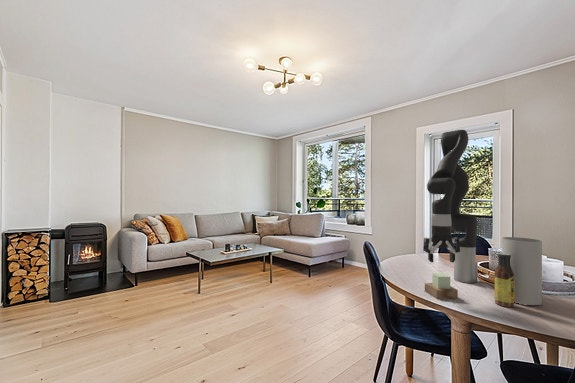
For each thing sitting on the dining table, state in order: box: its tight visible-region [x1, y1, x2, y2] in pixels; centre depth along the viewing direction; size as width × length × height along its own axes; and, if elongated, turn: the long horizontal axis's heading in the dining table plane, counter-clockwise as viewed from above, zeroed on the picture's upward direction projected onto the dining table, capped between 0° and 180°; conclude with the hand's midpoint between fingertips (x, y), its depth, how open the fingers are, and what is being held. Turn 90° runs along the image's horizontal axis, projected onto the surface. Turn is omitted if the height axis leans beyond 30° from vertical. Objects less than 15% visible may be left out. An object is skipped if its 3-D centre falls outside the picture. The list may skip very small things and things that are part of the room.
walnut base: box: [424, 282, 459, 300], centre depth 120 cm, size 9×9×4 cm
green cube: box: [431, 272, 451, 289], centre depth 120 cm, size 5×5×5 cm
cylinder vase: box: [501, 236, 543, 306], centre depth 114 cm, size 12×12×25 cm
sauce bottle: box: [494, 252, 515, 308], centre depth 110 cm, size 7×6×20 cm
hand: (441, 262), depth 120 cm, fingers open, 8 cm apart
